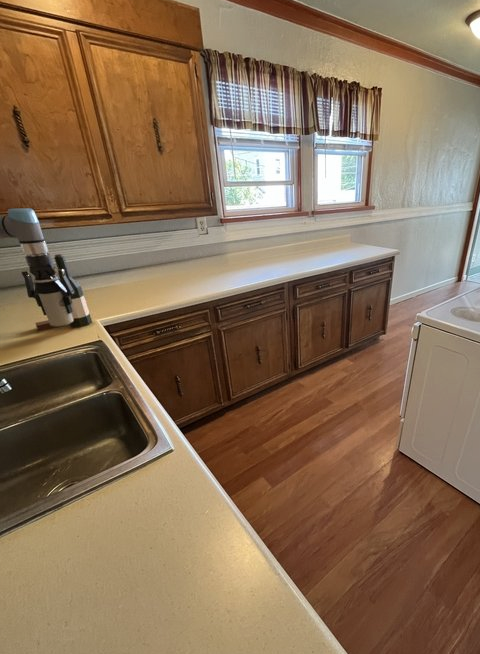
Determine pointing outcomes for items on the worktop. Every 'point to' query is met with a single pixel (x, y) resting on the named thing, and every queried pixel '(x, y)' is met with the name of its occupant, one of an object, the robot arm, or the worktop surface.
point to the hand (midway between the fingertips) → (58, 313)
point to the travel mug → (53, 302)
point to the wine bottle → (75, 297)
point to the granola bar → (44, 325)
